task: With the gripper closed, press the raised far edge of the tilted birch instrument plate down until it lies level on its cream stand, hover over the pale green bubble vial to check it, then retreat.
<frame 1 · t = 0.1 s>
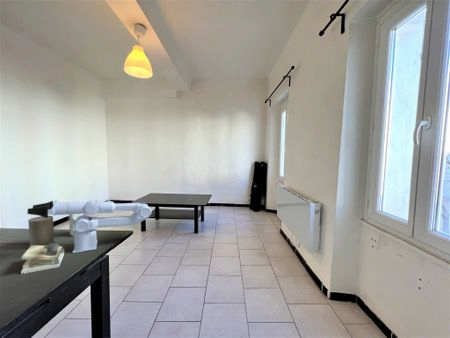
hand: (30, 209, 95), 22 cm above the table, tool horizontal, fingers open, 7 cm apart
stand: (44, 263, 91), on the table
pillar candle: (42, 244, 110), on the table
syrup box: (77, 234, 125), on the table
plate: (45, 247, 91), point 7 cm above the table, hinge at 14.0°
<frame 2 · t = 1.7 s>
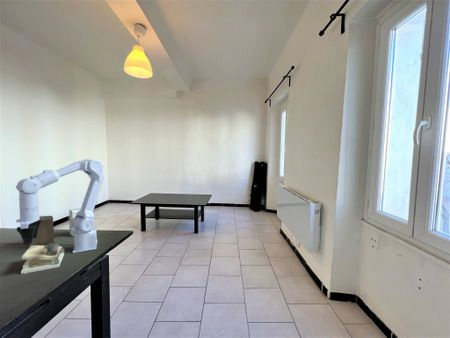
hand: (30, 240, 88), 10 cm above the table, tool pointing down, fingers open, 6 cm apart
nothing on the table moved.
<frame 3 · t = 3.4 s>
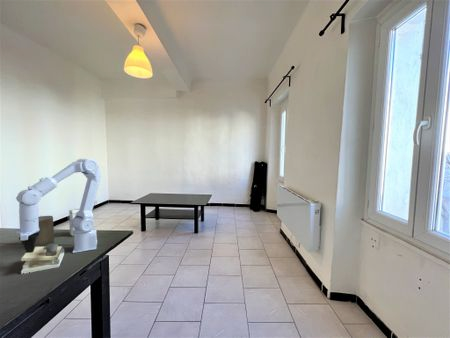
hand: (30, 251, 88), 6 cm above the table, tool pointing down, fingers closed, pressing on plate
plate: (44, 248, 90), point 6 cm above the table, hinge at 10.5°, touching gripper
everything else where it was.
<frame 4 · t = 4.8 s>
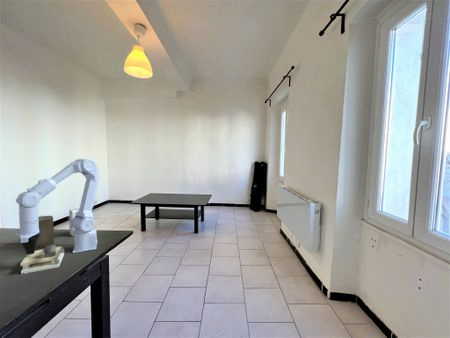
hand: (30, 253, 88), 5 cm above the table, tool pointing down, fingers closed
plate: (43, 250, 90), point 5 cm above the table, hinge at -0.3°
everything else where it was.
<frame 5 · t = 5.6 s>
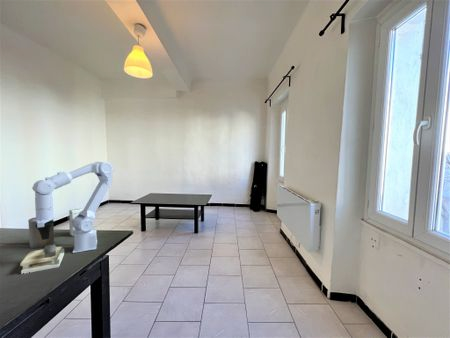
hand: (45, 238, 93), 9 cm above the table, tool pointing down, fingers closed
nothing on the table moved.
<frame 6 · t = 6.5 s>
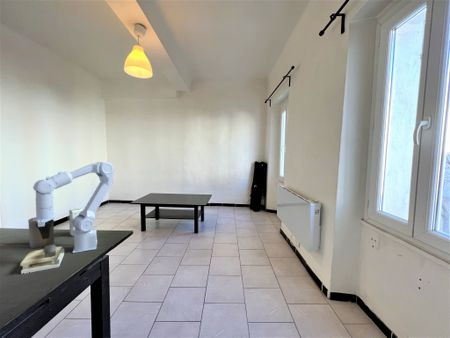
hand: (45, 238, 94), 9 cm above the table, tool pointing down, fingers closed
nothing on the table moved.
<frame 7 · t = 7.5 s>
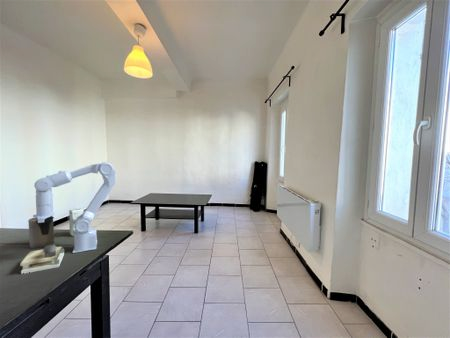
hand: (45, 234, 97), 10 cm above the table, tool pointing down, fingers closed
nothing on the table moved.
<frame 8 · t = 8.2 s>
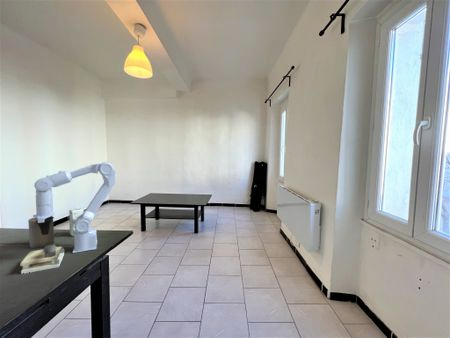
hand: (45, 234, 97), 10 cm above the table, tool pointing down, fingers closed
nothing on the table moved.
at the end: plate at +0° (first picture: +14°); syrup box moved 0.2 cm from its start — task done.
